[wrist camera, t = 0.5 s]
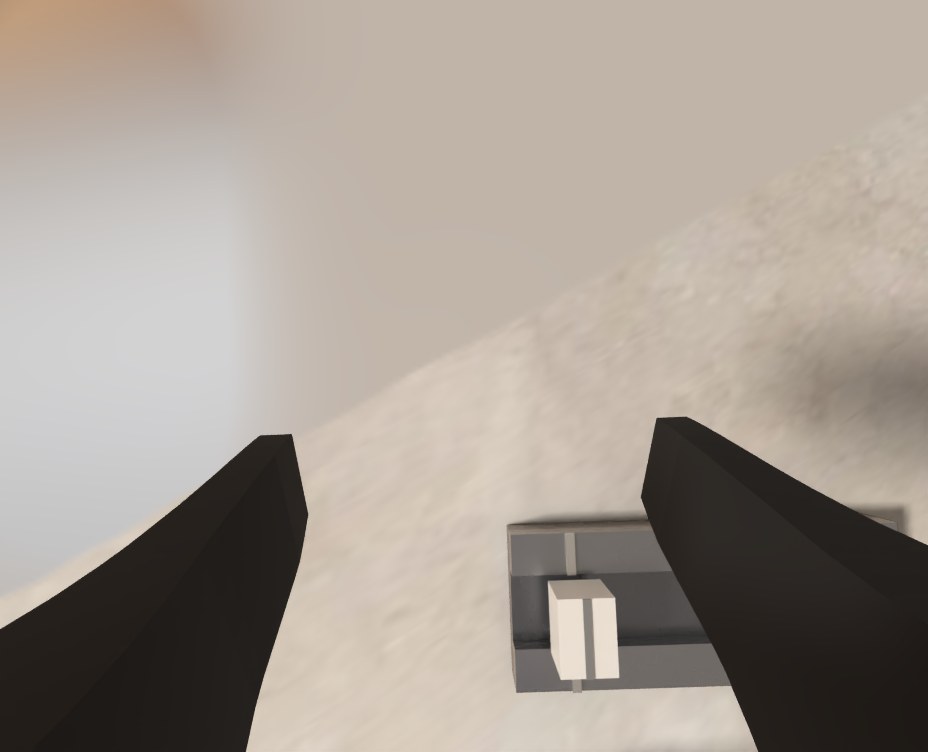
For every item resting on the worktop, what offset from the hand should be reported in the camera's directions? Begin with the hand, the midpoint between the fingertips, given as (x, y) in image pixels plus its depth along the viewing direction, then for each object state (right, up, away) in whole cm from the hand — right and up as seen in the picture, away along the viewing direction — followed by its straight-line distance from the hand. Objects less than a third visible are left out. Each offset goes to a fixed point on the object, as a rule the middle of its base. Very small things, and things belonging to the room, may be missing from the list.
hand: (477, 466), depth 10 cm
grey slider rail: (+14, -12, +22) cm, 29 cm away
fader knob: (+6, -12, +21) cm, 25 cm away
